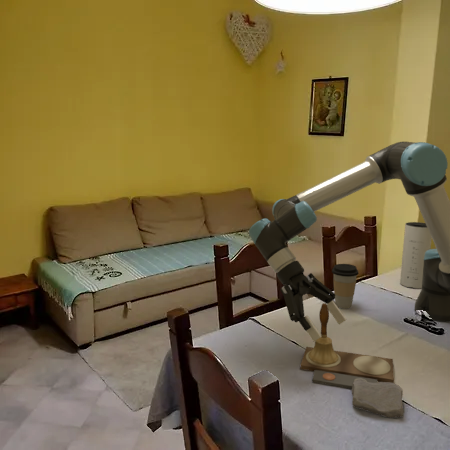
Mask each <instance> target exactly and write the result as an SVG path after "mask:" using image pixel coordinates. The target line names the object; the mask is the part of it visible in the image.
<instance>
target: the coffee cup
mask: <svg viewBox="0 0 450 450" xmlns="http://www.w3.org/2000/svg"><path fill="white" fill-rule="evenodd" d="M331 274H333V279H332V280H333V293H334V294H335V299H334V302H335V303H336V305H337V306H338V307H339V309H343V310H347V309H348V310H349V309H350V308H352V307H353V301H354V295H355V290H356V284H357V276H358V275H359V269H357V266H356V265H354V264H350V263H338V264H335V265H333V267H332V269H331Z"/></svg>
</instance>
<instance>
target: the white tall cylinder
mask: <svg viewBox="0 0 450 450" xmlns="http://www.w3.org/2000/svg"><path fill="white" fill-rule="evenodd" d="M431 246H432V237H431V235H430V233H429V230H428V228H427V226H426V223H425V222H419V221H418V222H417V221H410V222H409V221H408V222H405V224H404V235H403V244H402V248H403V249H402V257H401V266H400V267H401V268H400V279H399V284H400V285H401V286H403V287H405V288H409V289H413V290H414V289H415V290H416V289H417V290H421V289H422V278H423V266H424V256H425V252H426V251H427V250H430V249H432V248H431Z"/></svg>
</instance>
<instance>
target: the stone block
mask: <svg viewBox="0 0 450 450" xmlns="http://www.w3.org/2000/svg"><path fill="white" fill-rule="evenodd" d="M403 391H404V390H403V388H402V387H401V386H400V385H398V384H397V383H390V382H378V381H377V383H371V382H366V381H364V380H362V379H358V380H356V381H354V383H353V384H352V389H351V394H352V407H354V408H355V409H360V410H363V411H366V412H369V413H372V414H375V415H378V416H383V417H385V418H391V419H392V418H396V419H397V418H403V416H404V413H405V411H404V405H403V395H404V394H403V393H404V392H403Z"/></svg>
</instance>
